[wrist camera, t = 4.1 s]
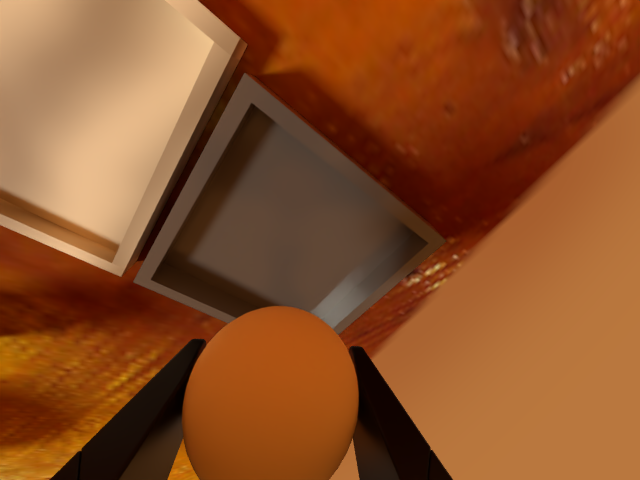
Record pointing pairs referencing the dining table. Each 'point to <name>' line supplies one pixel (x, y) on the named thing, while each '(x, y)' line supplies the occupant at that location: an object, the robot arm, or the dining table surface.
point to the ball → (271, 399)
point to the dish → (282, 222)
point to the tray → (103, 116)
